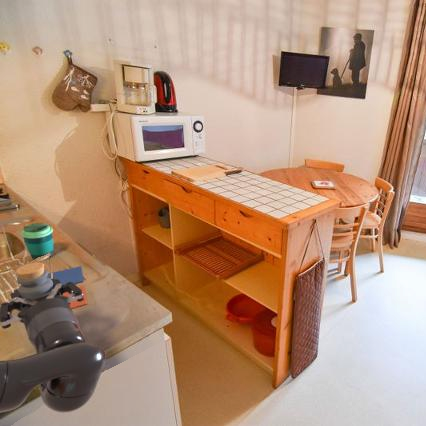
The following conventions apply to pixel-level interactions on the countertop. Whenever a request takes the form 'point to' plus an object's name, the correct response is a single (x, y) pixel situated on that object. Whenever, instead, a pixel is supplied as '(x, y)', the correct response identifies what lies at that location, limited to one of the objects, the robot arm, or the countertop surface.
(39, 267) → the bottle
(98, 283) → the countertop surface
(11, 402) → the robot arm
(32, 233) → the cup
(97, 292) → the countertop surface
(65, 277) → the mats
